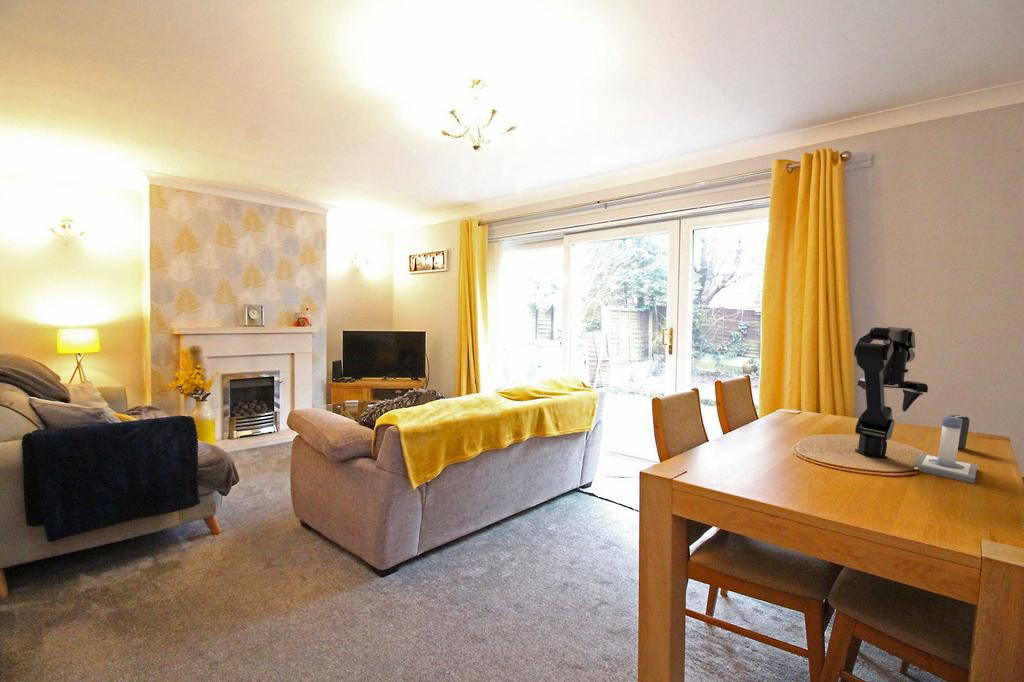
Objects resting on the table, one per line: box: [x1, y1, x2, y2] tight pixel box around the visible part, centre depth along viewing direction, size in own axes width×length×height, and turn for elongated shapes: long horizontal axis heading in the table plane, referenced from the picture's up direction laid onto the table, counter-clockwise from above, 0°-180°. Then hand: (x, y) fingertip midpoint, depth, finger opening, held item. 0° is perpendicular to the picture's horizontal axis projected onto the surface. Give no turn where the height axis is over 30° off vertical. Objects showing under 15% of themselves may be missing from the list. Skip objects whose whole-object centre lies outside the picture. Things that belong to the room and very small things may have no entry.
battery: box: [949, 414, 970, 449], centre depth 168 cm, size 7×4×11 cm, turn 105°
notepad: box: [913, 452, 978, 485], centre depth 143 cm, size 18×13×2 cm
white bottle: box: [937, 415, 962, 466], centre depth 142 cm, size 4×4×14 cm
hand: (889, 410), depth 162 cm, fingers open, 9 cm apart
